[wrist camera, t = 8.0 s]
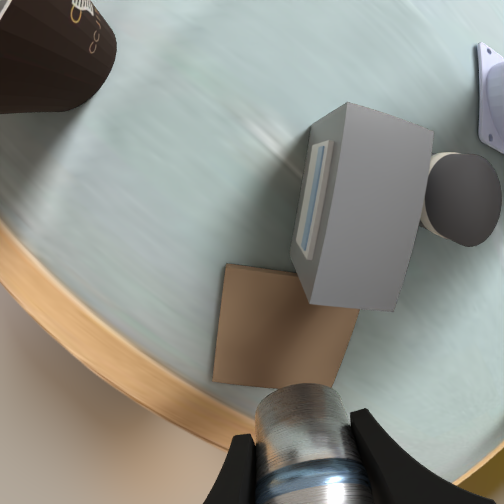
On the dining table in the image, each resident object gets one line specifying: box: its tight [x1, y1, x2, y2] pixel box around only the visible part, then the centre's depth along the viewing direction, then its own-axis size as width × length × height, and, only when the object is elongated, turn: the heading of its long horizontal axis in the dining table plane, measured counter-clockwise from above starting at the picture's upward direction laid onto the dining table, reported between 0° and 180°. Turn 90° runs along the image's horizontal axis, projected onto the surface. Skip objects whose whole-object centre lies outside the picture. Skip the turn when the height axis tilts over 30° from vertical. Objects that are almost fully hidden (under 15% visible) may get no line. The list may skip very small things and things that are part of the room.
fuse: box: [255, 383, 375, 504], centre depth 8 cm, size 4×4×6 cm
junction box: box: [289, 102, 434, 312], centre depth 12 cm, size 4×7×6 cm, turn 171°
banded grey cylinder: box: [419, 152, 502, 247], centre depth 12 cm, size 4×4×6 cm
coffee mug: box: [0, 0, 117, 114], centre depth 7 cm, size 12×9×10 cm
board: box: [212, 263, 360, 389], centre depth 17 cm, size 8×8×1 cm
